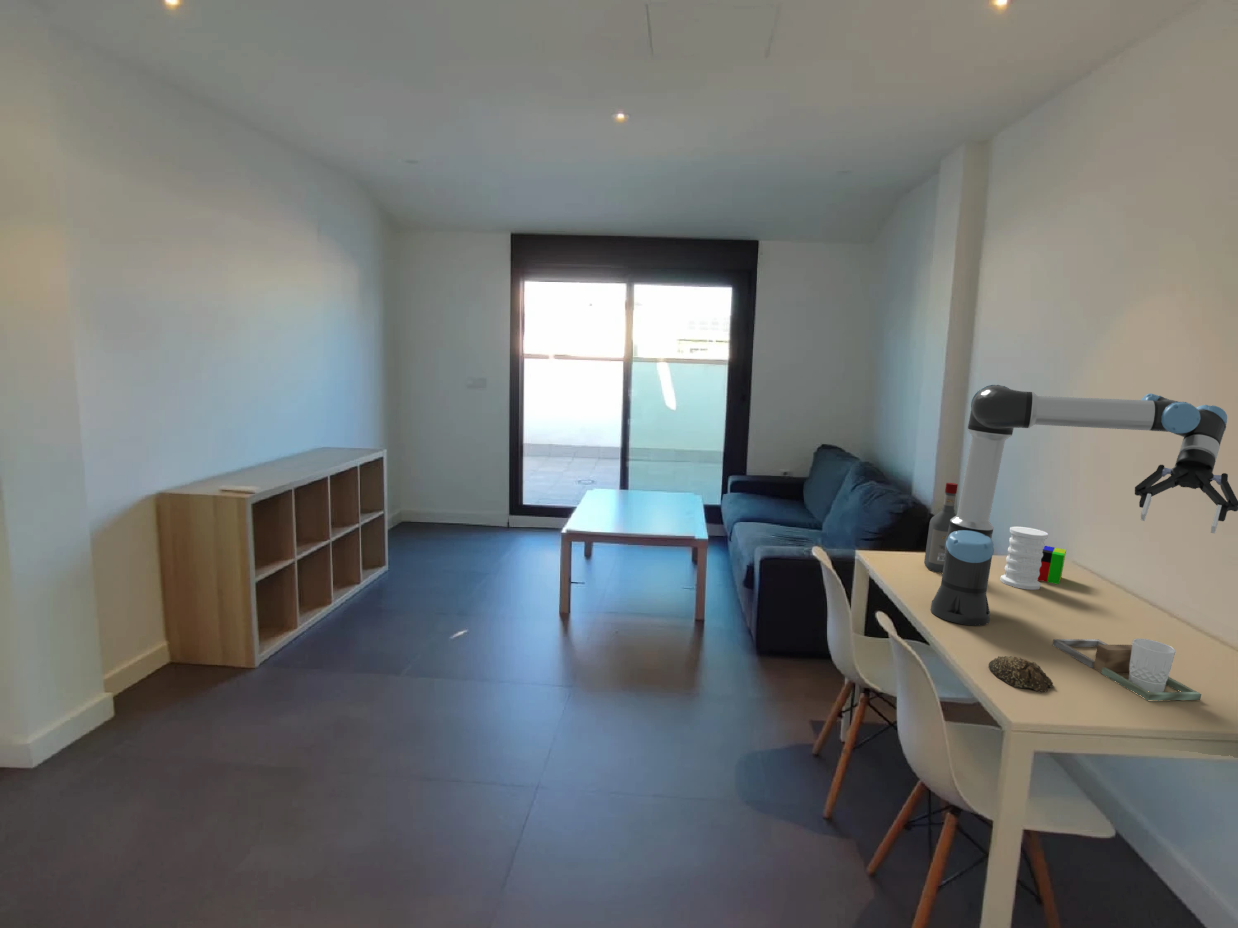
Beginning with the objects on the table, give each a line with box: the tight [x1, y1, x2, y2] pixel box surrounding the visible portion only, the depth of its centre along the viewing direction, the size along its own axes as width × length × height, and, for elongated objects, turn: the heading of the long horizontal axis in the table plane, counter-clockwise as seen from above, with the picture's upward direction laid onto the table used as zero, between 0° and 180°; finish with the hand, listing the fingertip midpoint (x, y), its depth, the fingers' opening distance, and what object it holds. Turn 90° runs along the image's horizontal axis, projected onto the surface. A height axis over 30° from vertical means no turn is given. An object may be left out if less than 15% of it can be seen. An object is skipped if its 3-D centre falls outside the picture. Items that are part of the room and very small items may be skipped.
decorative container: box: [999, 526, 1049, 591], centre depth 233 cm, size 12×12×18 cm
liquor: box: [923, 482, 959, 574], centre depth 243 cm, size 9×9×30 cm
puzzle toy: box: [1038, 545, 1067, 585], centre depth 243 cm, size 10×10×10 cm
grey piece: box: [1051, 638, 1202, 702], centre depth 171 cm, size 13×29×6 cm, turn 8°
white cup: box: [1127, 638, 1176, 692], centre depth 163 cm, size 8×8×10 cm
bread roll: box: [988, 655, 1054, 693], centre depth 164 cm, size 13×12×5 cm
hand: (1176, 523), depth 172 cm, fingers open, 13 cm apart
